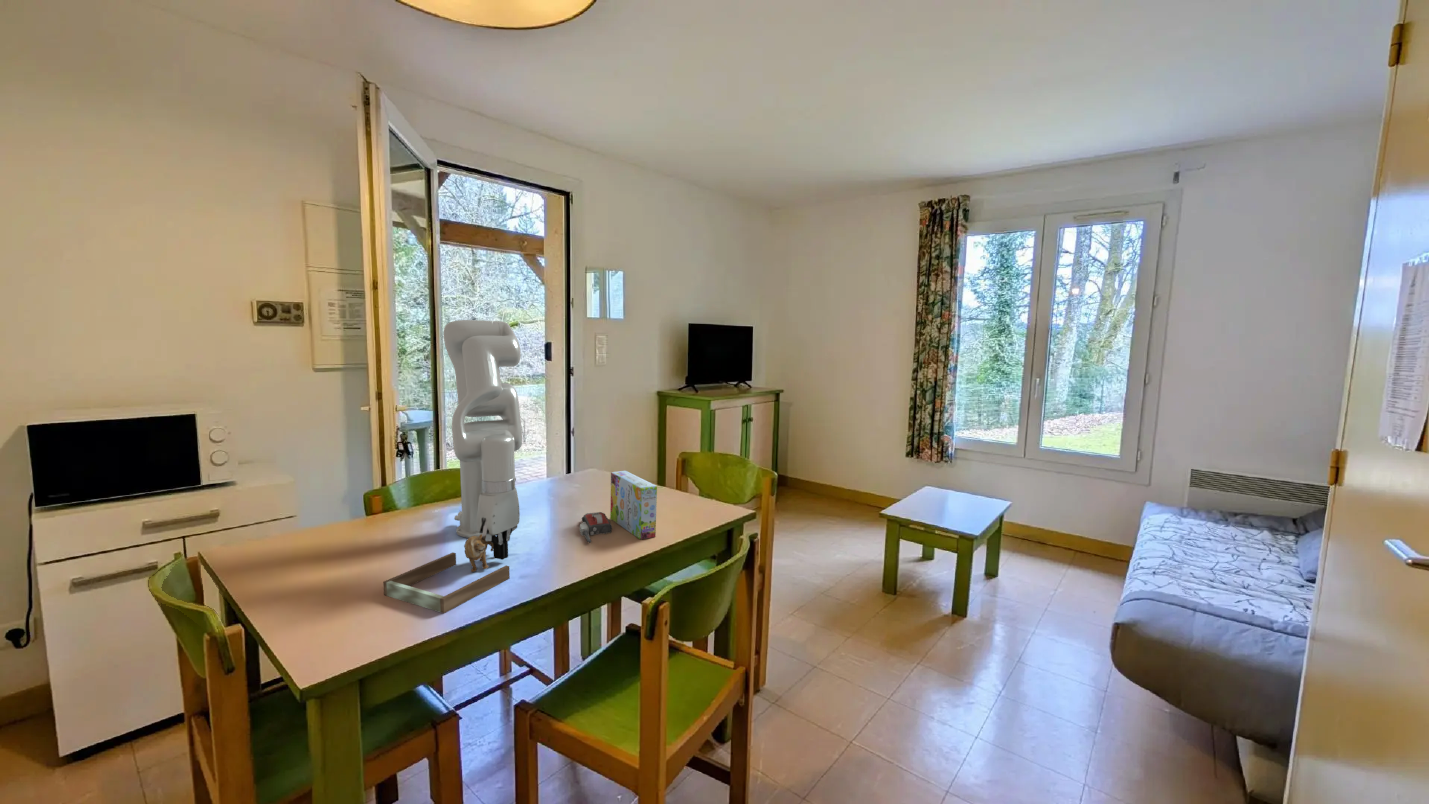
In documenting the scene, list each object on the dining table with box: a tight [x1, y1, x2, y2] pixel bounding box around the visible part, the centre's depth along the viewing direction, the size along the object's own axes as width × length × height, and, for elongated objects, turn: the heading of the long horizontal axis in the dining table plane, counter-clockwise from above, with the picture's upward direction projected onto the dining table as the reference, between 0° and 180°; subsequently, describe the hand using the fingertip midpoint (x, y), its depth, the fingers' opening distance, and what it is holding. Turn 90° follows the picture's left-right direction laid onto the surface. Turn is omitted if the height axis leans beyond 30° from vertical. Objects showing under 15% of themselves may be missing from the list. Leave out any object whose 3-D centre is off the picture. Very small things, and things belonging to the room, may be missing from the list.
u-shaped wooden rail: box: [383, 552, 511, 614], centre depth 124 cm, size 18×18×3 cm
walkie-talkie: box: [579, 511, 613, 544], centre depth 160 cm, size 9×4×20 cm
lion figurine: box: [463, 534, 493, 573], centre depth 135 cm, size 15×5×9 cm, turn 10°
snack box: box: [609, 470, 658, 540], centre depth 163 cm, size 21×6×15 cm, turn 34°
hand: (500, 557), depth 137 cm, fingers closed
